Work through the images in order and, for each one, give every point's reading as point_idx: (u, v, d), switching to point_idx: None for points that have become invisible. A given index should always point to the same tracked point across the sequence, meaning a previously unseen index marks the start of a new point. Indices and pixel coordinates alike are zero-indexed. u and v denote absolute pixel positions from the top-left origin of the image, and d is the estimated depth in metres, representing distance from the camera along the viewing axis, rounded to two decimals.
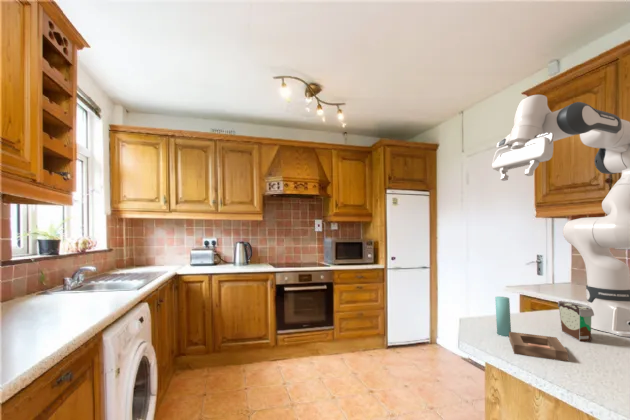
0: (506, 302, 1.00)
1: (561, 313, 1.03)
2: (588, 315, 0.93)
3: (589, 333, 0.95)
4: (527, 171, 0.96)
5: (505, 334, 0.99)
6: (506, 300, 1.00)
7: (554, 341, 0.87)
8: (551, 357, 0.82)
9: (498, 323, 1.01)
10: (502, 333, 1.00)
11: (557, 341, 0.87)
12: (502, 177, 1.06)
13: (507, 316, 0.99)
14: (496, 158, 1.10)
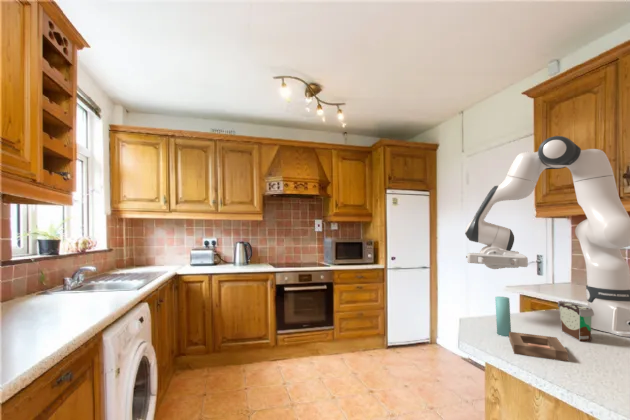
0: (506, 302, 1.00)
1: (561, 313, 1.03)
2: (588, 315, 0.93)
3: (589, 333, 0.95)
4: (483, 262, 1.15)
5: (505, 334, 0.99)
6: (506, 300, 1.00)
7: (554, 341, 0.87)
8: (551, 357, 0.82)
9: (498, 323, 1.01)
10: (502, 333, 1.00)
11: (557, 341, 0.87)
12: (513, 264, 1.11)
13: (507, 316, 0.99)
14: None
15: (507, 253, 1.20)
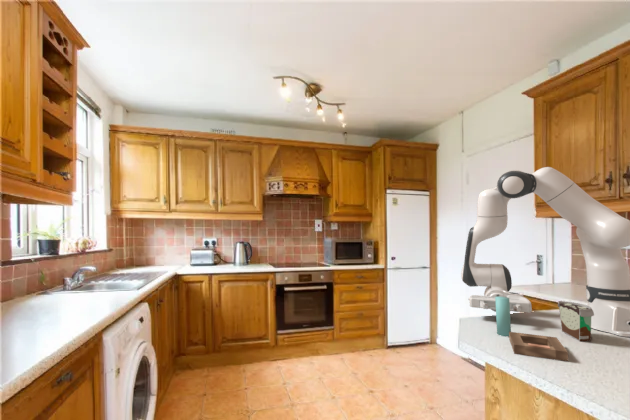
0: (506, 302, 1.00)
1: (561, 313, 1.03)
2: (588, 315, 0.93)
3: (589, 333, 0.95)
4: None
5: (505, 334, 0.99)
6: (506, 300, 1.00)
7: (554, 341, 0.87)
8: (551, 357, 0.82)
9: (498, 323, 1.01)
10: (502, 333, 1.00)
11: (557, 341, 0.87)
12: (515, 311, 1.08)
13: (507, 316, 0.99)
14: None
15: (511, 296, 1.17)
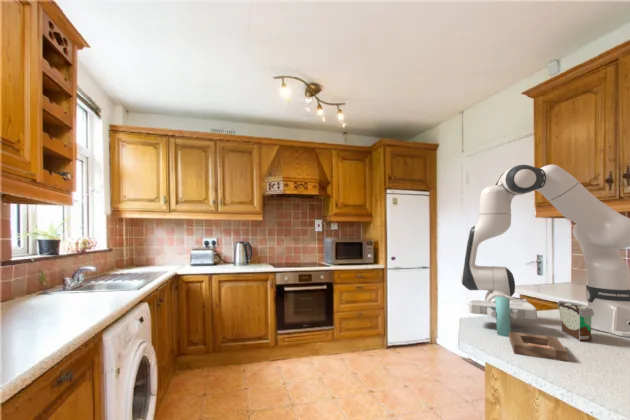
0: (506, 302, 1.00)
1: (561, 313, 1.03)
2: (588, 315, 0.93)
3: (589, 333, 0.95)
4: None
5: (505, 334, 0.99)
6: (506, 300, 1.00)
7: (554, 341, 0.87)
8: (551, 357, 0.82)
9: (498, 323, 1.01)
10: (502, 333, 1.00)
11: (557, 341, 0.87)
12: None
13: (507, 316, 0.99)
14: None
15: (514, 302, 1.08)
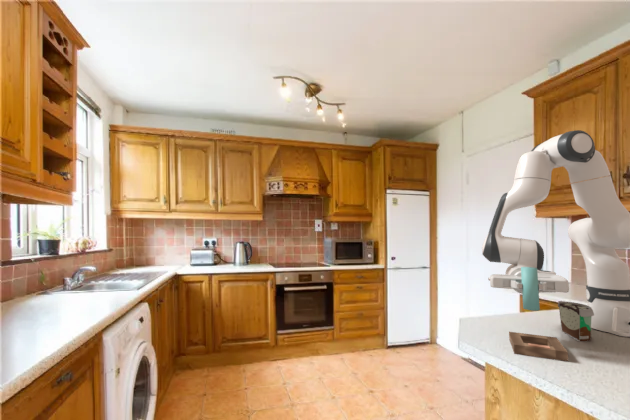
0: (534, 272, 0.88)
1: (561, 313, 1.03)
2: (588, 315, 0.93)
3: (589, 333, 0.95)
4: (518, 288, 0.91)
5: (533, 308, 0.88)
6: (534, 270, 0.88)
7: (554, 341, 0.87)
8: (551, 357, 0.82)
9: (525, 296, 0.89)
10: (529, 307, 0.88)
11: (557, 341, 0.87)
12: (541, 290, 0.89)
13: (535, 287, 0.88)
14: None
15: (541, 274, 0.97)
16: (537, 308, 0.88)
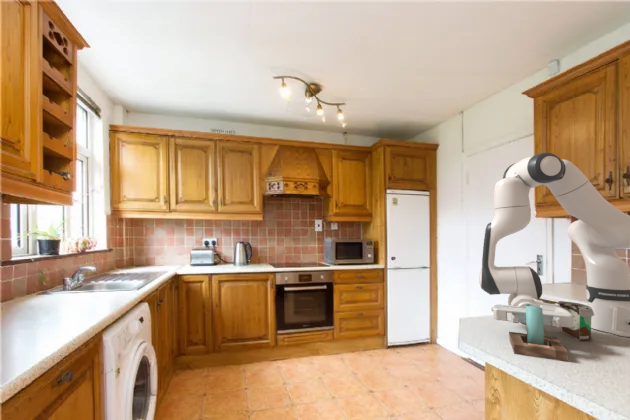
0: (539, 313, 0.87)
1: None
2: (588, 315, 0.93)
3: (589, 333, 0.95)
4: None
5: None
6: (539, 310, 0.87)
7: (554, 341, 0.87)
8: (551, 357, 0.82)
9: (529, 337, 0.88)
10: None
11: (557, 341, 0.87)
12: (554, 326, 0.86)
13: (540, 328, 0.87)
14: None
15: (545, 307, 0.96)
16: None
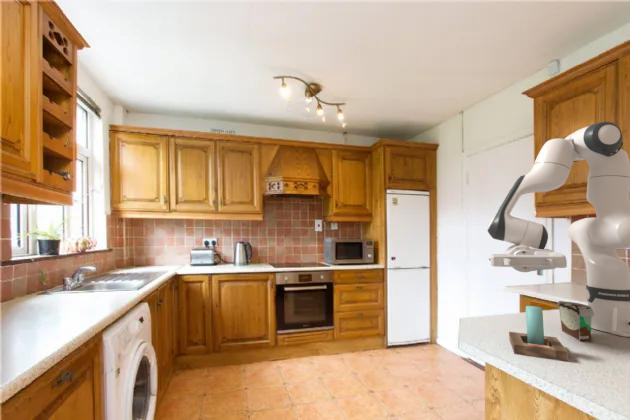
0: (539, 313, 0.87)
1: (561, 313, 1.03)
2: (588, 315, 0.93)
3: (589, 333, 0.95)
4: None
5: None
6: (539, 310, 0.87)
7: (554, 341, 0.87)
8: (551, 357, 0.82)
9: (529, 337, 0.88)
10: None
11: (557, 341, 0.87)
12: (548, 266, 0.91)
13: (540, 328, 0.86)
14: None
15: (539, 252, 1.00)
16: None
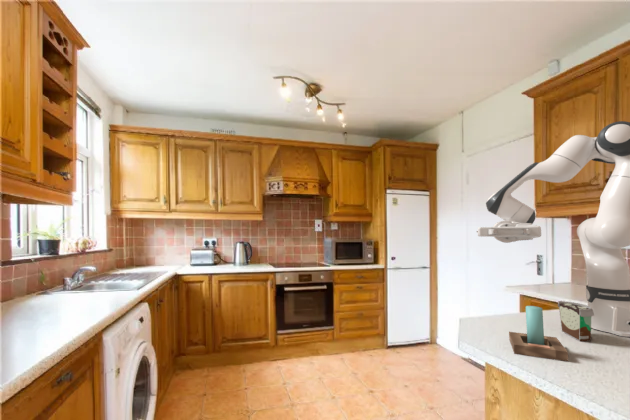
0: (539, 313, 0.87)
1: (561, 313, 1.03)
2: (588, 315, 0.93)
3: (589, 333, 0.95)
4: (494, 234, 1.12)
5: None
6: (539, 310, 0.87)
7: (554, 341, 0.87)
8: (551, 357, 0.82)
9: (529, 337, 0.88)
10: None
11: (557, 341, 0.87)
12: (525, 234, 1.07)
13: (540, 328, 0.86)
14: (534, 236, 1.12)
15: (519, 225, 1.16)
16: None
